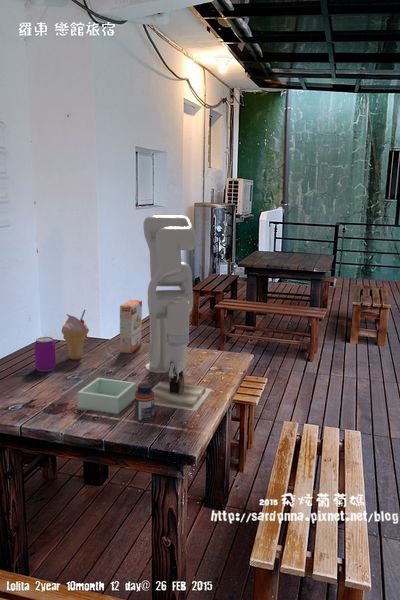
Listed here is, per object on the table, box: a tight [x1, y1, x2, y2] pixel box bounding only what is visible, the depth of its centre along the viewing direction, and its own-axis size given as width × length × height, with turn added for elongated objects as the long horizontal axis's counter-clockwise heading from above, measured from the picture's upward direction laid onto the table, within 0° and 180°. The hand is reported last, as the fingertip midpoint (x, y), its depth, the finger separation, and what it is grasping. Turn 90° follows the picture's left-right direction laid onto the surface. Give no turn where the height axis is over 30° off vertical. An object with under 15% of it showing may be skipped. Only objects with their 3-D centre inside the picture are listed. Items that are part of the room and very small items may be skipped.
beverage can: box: [34, 336, 57, 372], centre depth 203 cm, size 8×8×12 cm
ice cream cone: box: [61, 309, 90, 360], centre depth 216 cm, size 11×11×20 cm
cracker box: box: [119, 299, 143, 354], centre depth 231 cm, size 14×6×21 cm, turn 168°
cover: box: [153, 376, 207, 408], centre depth 179 cm, size 16×16×6 cm
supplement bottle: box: [134, 382, 155, 424], centre depth 161 cm, size 6×6×11 cm
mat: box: [151, 381, 213, 412], centre depth 180 cm, size 20×20×1 cm
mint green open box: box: [77, 377, 137, 415], centre depth 172 cm, size 14×14×6 cm
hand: (176, 389), depth 180 cm, fingers closed on cover, 4 cm apart
